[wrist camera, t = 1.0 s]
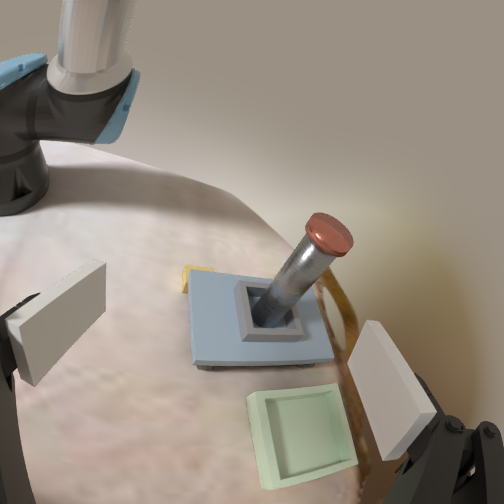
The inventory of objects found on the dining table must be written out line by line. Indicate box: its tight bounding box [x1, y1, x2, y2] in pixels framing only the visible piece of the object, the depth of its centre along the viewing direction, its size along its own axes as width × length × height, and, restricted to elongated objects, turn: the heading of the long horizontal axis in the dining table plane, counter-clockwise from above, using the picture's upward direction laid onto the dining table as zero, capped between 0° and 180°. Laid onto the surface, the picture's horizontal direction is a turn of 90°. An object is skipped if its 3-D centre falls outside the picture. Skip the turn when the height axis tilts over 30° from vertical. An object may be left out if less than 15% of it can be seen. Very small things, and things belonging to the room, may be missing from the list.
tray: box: [245, 383, 358, 490], centre depth 29 cm, size 12×12×3 cm
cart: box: [182, 265, 335, 370], centre depth 37 cm, size 15×18×7 cm
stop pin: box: [251, 213, 353, 328], centre depth 30 cm, size 5×5×15 cm
